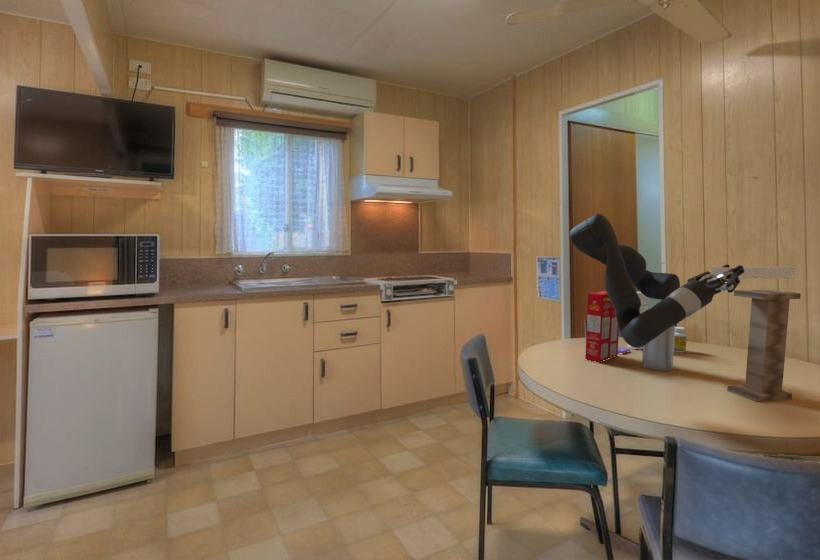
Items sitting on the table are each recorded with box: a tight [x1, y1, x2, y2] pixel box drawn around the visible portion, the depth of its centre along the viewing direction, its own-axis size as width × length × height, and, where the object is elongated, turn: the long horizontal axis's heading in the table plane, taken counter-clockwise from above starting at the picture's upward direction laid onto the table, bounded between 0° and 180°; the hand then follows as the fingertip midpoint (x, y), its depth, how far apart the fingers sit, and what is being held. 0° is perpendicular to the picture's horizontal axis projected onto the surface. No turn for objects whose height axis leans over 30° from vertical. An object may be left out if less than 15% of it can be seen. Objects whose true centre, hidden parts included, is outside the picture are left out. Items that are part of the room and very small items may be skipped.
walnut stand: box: [726, 289, 801, 403], centre depth 125 cm, size 12×9×30 cm
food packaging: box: [584, 290, 620, 363], centre depth 165 cm, size 15×5×25 cm, turn 130°
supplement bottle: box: [674, 326, 688, 353], centre depth 176 cm, size 5×5×10 cm
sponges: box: [618, 346, 631, 353], centre depth 178 cm, size 7×13×2 cm, turn 38°
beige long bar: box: [710, 266, 796, 280], centre depth 122 cm, size 24×4×3 cm, turn 101°
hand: (735, 267), depth 121 cm, fingers closed on beige long bar, 3 cm apart
